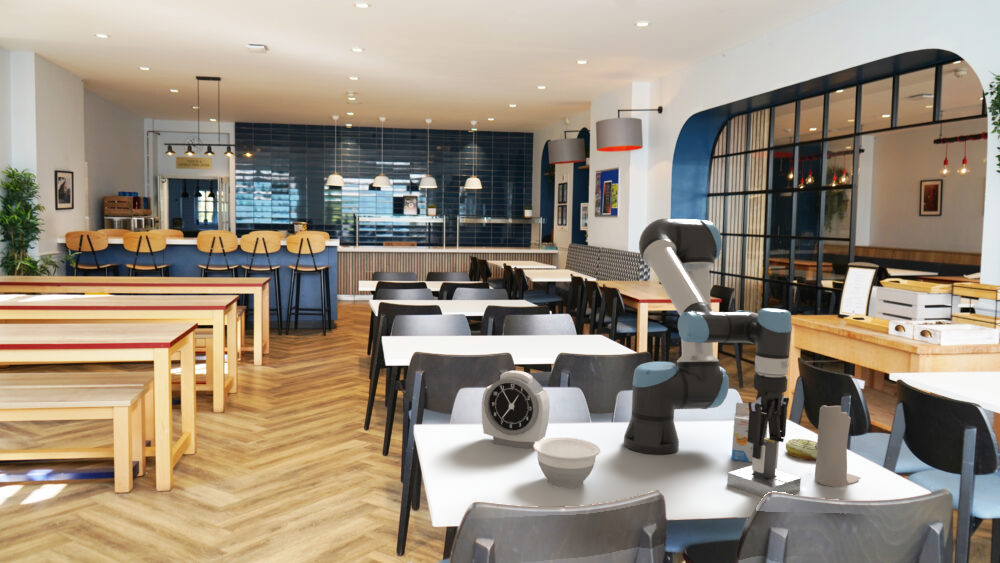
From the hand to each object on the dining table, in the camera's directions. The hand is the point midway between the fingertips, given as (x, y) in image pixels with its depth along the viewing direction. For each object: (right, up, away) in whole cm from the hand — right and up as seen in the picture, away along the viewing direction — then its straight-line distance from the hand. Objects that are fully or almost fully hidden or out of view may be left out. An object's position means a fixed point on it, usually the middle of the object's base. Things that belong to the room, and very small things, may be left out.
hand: (764, 468), depth 184 cm
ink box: (+3, -3, +22) cm, 22 cm away
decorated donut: (+21, -3, +28) cm, 35 cm away
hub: (0, -4, 0) cm, 5 cm away
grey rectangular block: (0, -4, 0) cm, 4 cm away
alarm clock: (-60, 0, +29) cm, 66 cm away
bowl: (-48, -3, -1) cm, 48 cm away
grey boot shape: (+21, -5, +8) cm, 23 cm away
